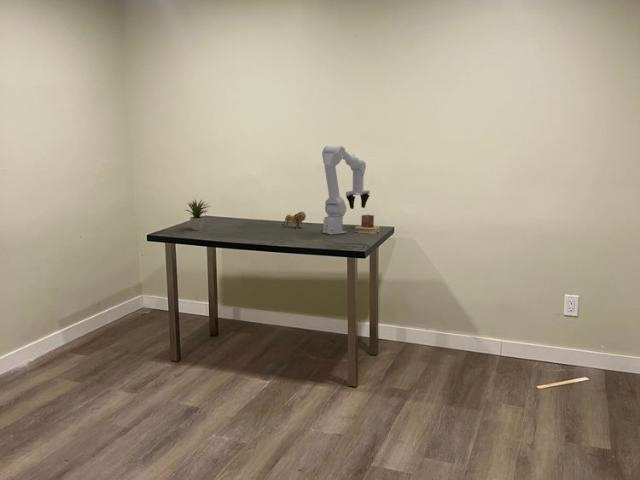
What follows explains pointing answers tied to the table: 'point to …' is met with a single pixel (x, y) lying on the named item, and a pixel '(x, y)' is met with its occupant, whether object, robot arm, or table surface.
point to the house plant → (197, 215)
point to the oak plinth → (367, 229)
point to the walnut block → (367, 221)
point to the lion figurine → (295, 219)
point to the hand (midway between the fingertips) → (357, 208)
